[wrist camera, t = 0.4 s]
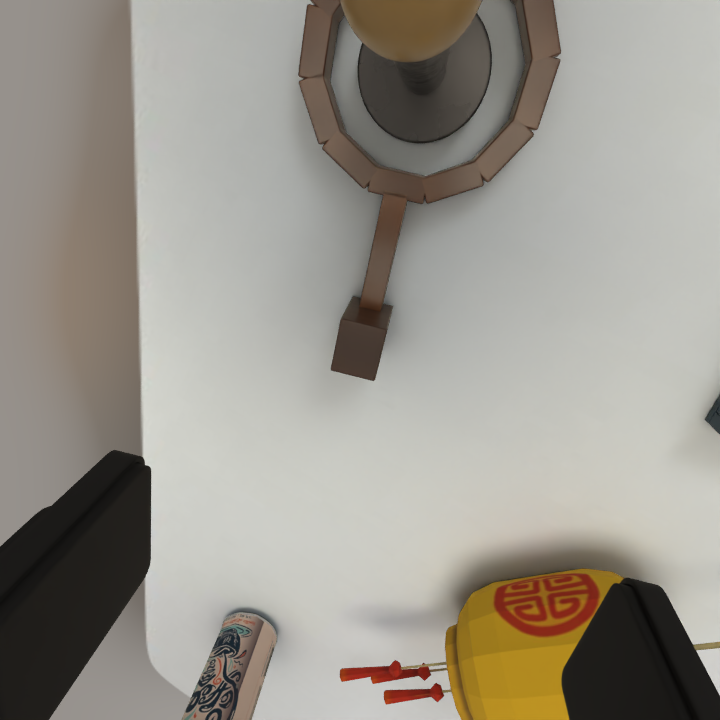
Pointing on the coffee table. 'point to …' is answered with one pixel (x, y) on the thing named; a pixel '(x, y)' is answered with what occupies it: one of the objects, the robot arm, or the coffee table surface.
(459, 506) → the coffee table surface
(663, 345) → the coffee table surface
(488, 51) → the black post with ball
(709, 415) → the tray
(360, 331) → the brown ring with handle
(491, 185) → the coffee table surface
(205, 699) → the beer can
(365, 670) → the lantern
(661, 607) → the robot arm
